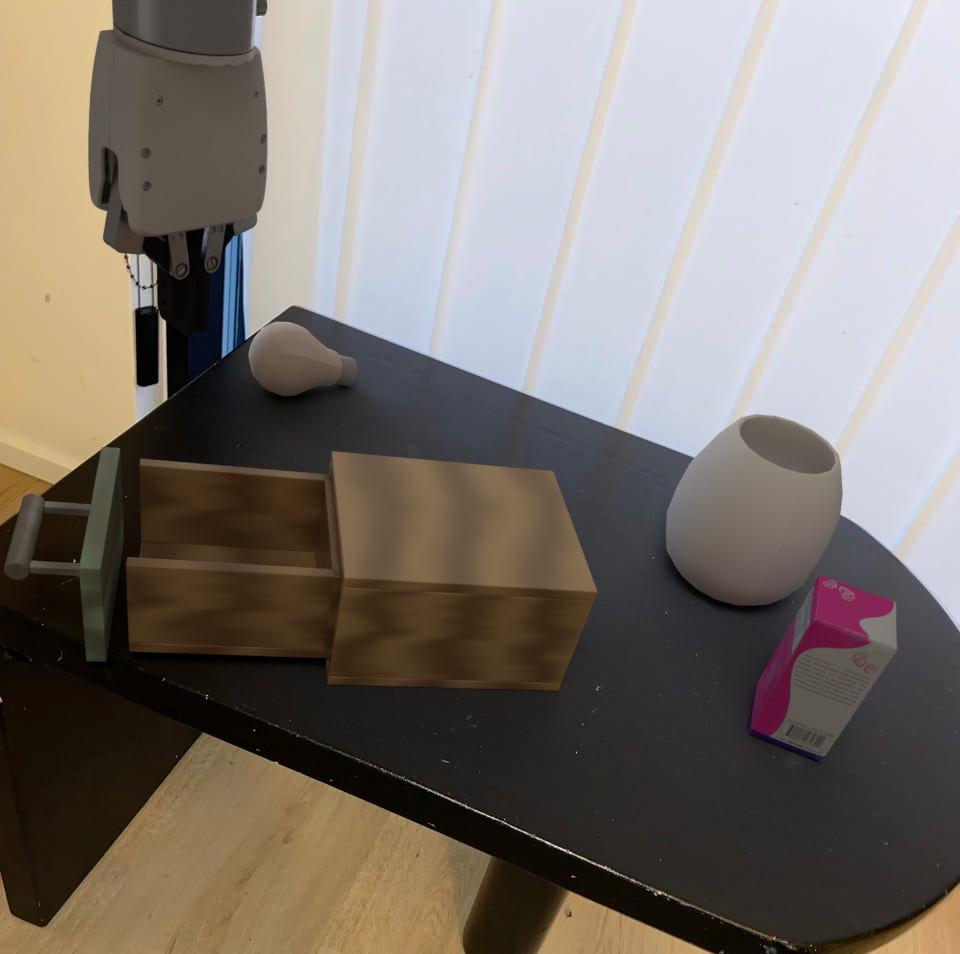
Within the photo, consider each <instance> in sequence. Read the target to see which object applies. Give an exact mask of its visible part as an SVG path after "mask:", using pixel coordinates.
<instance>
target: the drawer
mask: <svg viewBox="0 0 960 954" xmlns="http://www.w3.org/2000/svg"><path fill="white" fill-rule="evenodd" d="M138 465H139V502H140V503H139V504H140V505H139V506H140V507H139V508H140V540H141V541H140V547H139V556H138V557H130V556H129V557H126V563H125V579H126V580H125V583H126V604H127V605H126V606H127V607H126V608H127V609H126V610H127V628H128V629H127V633H128V636H127V637H128V652H137V653H160V654H161V653H163V654H188V655H189V654H190V655H191V654H192V655H193V654H194V655H221V656H248V657H249V656H250V657H278V658H279V657H281V658H308V659H312V658H313V659H325V658H330V653H331V647H332V641H333V634H334V628H335V622H336V615H337V609H338V603H339V597H340V590H341V584H342V571H341V561H340V551H339V540H338V530H337V520H336V510H335V499H334V489H333V479H332V475H329V474H327V473H326V474H324V473H314V472H302V471H292V470H291V471H289V470H279V469H267V468H254V467H245V466H231V465H220V464H207V463H196V462H183V461H171V460H161V459H148V458H140V460H139V464H138ZM122 477H123V475H122V453H121V448H119V447H107V446H102V447H100V453H99V459H98V464H97V468H96V474H95V480H94V486H93V490H92V494H91V495H92V496H91V501H90V504H88V503H87V504H86V503H74V502H62V501H61V502H59V501H45V499H44V498H43V496H41V495H39V494H37V493H28V494H25V495H24V496H23V497H22V500H21V504H20V507H19V512H18V514H17V518H16V522H15V525H14V529H13V533H12V537H11V539H10V545H9V548H8V551H7V556H6V559H5V562H4V567H3V572H4V574H5V575H6V576H7V577H8V578H10V579H12V580H15V581H21V580H25V579H27V578H28V576H29V575H30V574H32V575H33V574H34V575H48V576H49V575H52V576H54V575H55V576H68V577H69V576H70V577H79V587H80V599H81V613H82V625H83V636H84V637H83V639H84V647H85V648H84V649H85V660H86V662H100V663H105V662H107V660H108V653H109V645H110V640H111V639H110V638H111V633H112V625H113V617H114V612H115V611H114V610H115V604H116V597H117V589H118V583H119V575H120V568H121V563H122V554H123V548H124V542H125V531H124V529H125V528H124V505H123V481H122V480H123V479H122ZM44 514H49V515H64V516H75V517H76V516H78V517H88V518H87V523H86V527H85V533H84V538H83V543H82V549H81V554H80V560H79V562H60V561H44V560H43V561H42V560H33V559H34V555H35V550H36V546H37V542H38V537H39V533H40V530H41V525H42V521H43V518H44Z"/></svg>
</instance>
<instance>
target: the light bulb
mask: <svg viewBox="0 0 960 954" xmlns="http://www.w3.org/2000/svg"><path fill="white" fill-rule="evenodd" d="M247 355H248V360H249V366H250V371H251V374H252V376H253V377H254V379H255V380H256V381H257V382H258V384H259V385H260V386H261V387H262V388H263V389H264V390H266V391H268V392H270V393H273V394H276V395H279V396H281V397H292V396H293V397H294V396H297V395H299V394H302V393H304V392H307V391H309V390H311V389H314V388H317V387H331V386H334V385H337V386H343V387H351V386H353V384H355V382H356V380H357V377H358V373H359V370H358V367H359V366H358V363H357V361H356V359H355V358H354V357H351V356H345V355H343V354H338V352H337V351H335V350H333V349H330V348H329V347H326V346H325V345H324V344H322V342H320V341H319V340H318V339H317V338H316V337H315V336H314V335H313V334H312V333H311V332H310V331H309V330H308V329H306V327H304V326H301V325H299V324H297V323H294V322H290V321H275V322H272V323H269V324H267V325H265V326H263V327H261V329H259V331H258V332H257V334H255V336H254V337H253V339H252V340H251V343H250V346H249V350H248V354H247Z"/></svg>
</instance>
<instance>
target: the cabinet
mask: <svg viewBox="0 0 960 954" xmlns="http://www.w3.org/2000/svg"><path fill="white" fill-rule="evenodd" d="M329 463H330V464H329V470H328V475H332V479H333V489H334V499H335V510H336V520H337V530H338V540H339V551H340V561H341V571H342V584H341V590H340V597H339V603H338V609H337V615H336V622H335V628H334V634H333V641H332V647H331V653H330V658H324V659H325V672H326V684H327V685H332V686H333V685H334V686H364V687H365V686H368V687H369V686H370V687H399V688H401V687H402V688H406V687H407V688H436V689H437V688H439V689H440V688H441V689H474V690H475V689H476V690H477V689H479V690H509V691H510V690H513V691H514V690H515V691H549V692H551V691H553V692H558V691H560V689H561V686H562V683H563V681H564V678H565V676H566V673H567V671H568V668H569V666H570V663H571V662H572V658H573V655H574V653H575V650H576V648H577V646H578V643H579V640H580V638H581V636H582V634H583V633H582V632H583V630H584V627H585V625H586V622H587V621H588V618H589V615H590V613H591V610H592V607H593V605H594V602H595V600H596V598H597V595H598V589H597V586H596V584H595V581H594V578H593V575H592V573H591V569H590V567H589V564H588V562H587V559H586V556H585V553H584V550H583V547H582V545H581V542H580V540H579V537H578V534H577V532H576V529H575V526H574V523H573V521H572V517H571V515H570V513H569V510H568V507H567V504H566V502H565V499H564V496H563V493H562V490H561V488H560V485H559V483H558V480H557V476H556V474H555V471H553V470H543V469H534V468H533V469H531V468H523V467H522V468H521V467H511V466H502V465H501V466H500V465H488V464H480V463H479V464H477V463H465V462H457V461H456V462H455V461H446V460H433V459H424V458H423V459H422V458H411V457H401V456H400V457H399V456H389V455H388V456H387V455H377V454H366V453H357V452H346V451H345V452H344V451H335V450H333V451H331V454H330V462H329Z"/></svg>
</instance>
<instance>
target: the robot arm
mask: <svg viewBox="0 0 960 954" xmlns="http://www.w3.org/2000/svg"><path fill="white" fill-rule="evenodd" d="M111 5H112V6H111V10H112V28H111V29H103V30H100V31H99V34H98V39H97V43H96V48H95V53H94V59H93V65H92V72H91V83H90V92H89V106H88V107H89V109H88V133H87V145H88V146H87V155H88V156H87V164H88V165H87V166H88V169H87V170H88V189H89V197H90V200H91V203H92V204H93V206H95V207H96V208H97V209H99V210H101V211H104V212H106V215H105V216H106V217H105V222H104V226H103V233H102V241H103V243H105V244H106V245H107V246H108V247H110V248H111V249H113V250H114V251H116V252H117V253H119V254H128V255H138V256H139V255H140V256H141V255H145V256H146V257H147V259H148V260H149V261H151V262H152V263H153V264H155V265H156V305H157V310H158V313H159V317H160V318H161V319H162V320H163V321H164V322H166V323H168V324H169V325H170V326H172V327H173V328H174V329H176V330H177V331H179V332H180V333H181V334H183V335H184V336H186V337H188V336H192V335H194V334H196V332H198V333H202V332H207V331H208V330H209V314H210V306H211V274H213V273H216V271H217V270H218V269H219V267H220V265H221V259H222V253H223V252H224V251H225V249H226V248H227V246H228V245H229V244H230V242H231V241H232V240H233V238H234V237H238V236H239V235H241V234H243V233H245V232H248V231H249V230H251V229H253V228H255V226H257V223H258V213H259V212H260V211H261V210H262V208H263V206H264V201H265V195H266V189H267V178H268V155H269V147H268V146H269V145H268V144H269V143H268V141H269V138H268V137H269V135H268V133H269V131H268V108H267V93H266V92H267V91H266V82H265V74H264V73H265V71H264V65H263V59H262V53H261V50H260V48H259V47H258V46H257V45H255V41H256V24H257V23H256V22H257V21H256V19H257V18H263V17H265V16H266V14H267V11H268V1H267V0H111Z"/></svg>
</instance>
